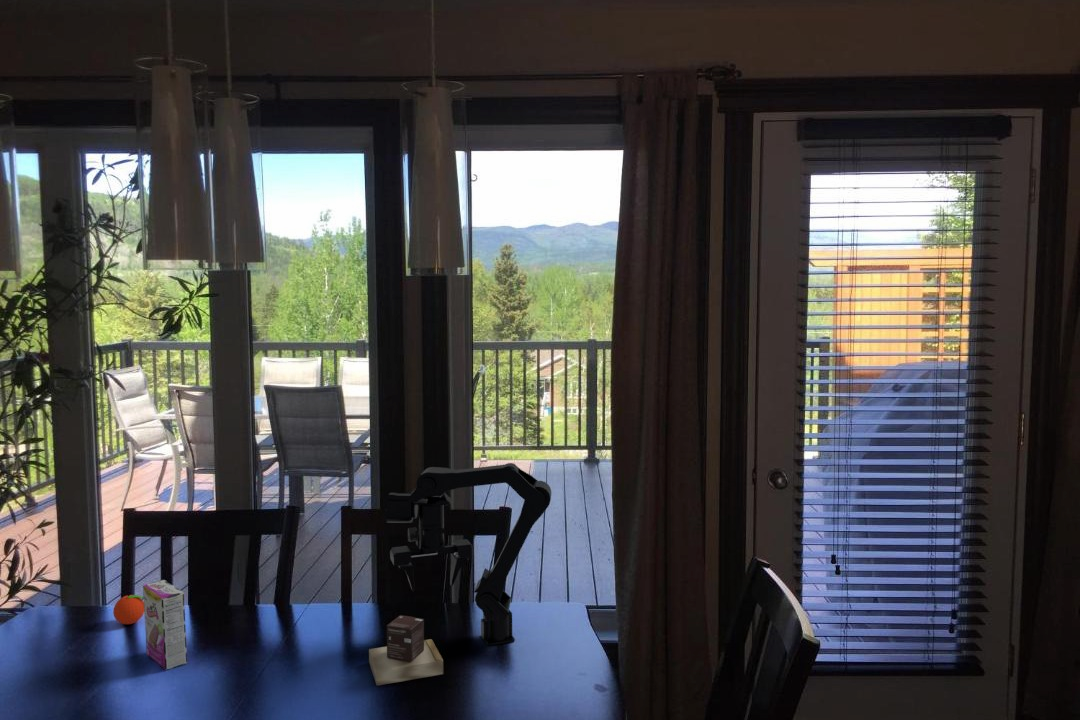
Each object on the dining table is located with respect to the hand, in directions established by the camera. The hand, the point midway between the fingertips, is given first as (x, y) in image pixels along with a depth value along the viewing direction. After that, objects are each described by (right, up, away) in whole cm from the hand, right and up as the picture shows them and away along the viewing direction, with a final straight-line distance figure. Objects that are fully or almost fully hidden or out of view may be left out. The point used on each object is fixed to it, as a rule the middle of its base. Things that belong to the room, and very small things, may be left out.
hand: (432, 587), depth 182 cm
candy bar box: (-58, -13, -10) cm, 60 cm away
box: (-4, -10, -15) cm, 18 cm away
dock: (-4, -13, -14) cm, 20 cm away
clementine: (-76, -12, +10) cm, 77 cm away
